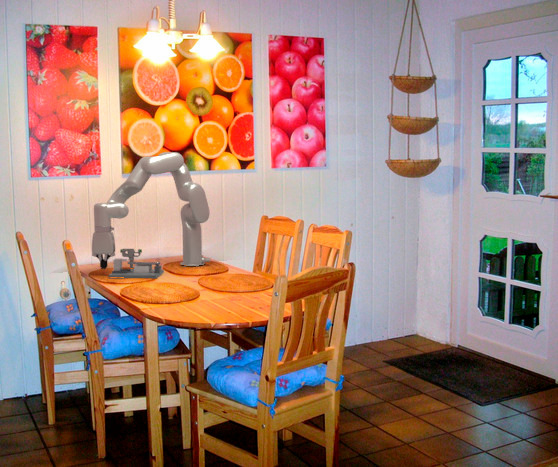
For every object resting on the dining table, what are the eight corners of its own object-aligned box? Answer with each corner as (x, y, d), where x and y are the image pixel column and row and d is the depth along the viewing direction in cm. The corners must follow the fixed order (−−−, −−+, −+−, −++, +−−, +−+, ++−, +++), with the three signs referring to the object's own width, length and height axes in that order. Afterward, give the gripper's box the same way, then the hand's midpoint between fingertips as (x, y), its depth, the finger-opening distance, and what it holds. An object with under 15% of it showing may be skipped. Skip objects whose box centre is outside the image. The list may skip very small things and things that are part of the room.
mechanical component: (141, 269, 338) (140, 249, 337) (120, 269, 338) (119, 249, 337) (142, 268, 341) (142, 248, 340) (122, 268, 341) (121, 248, 340)
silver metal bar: (160, 264, 323) (160, 261, 323) (158, 266, 320) (158, 262, 320) (129, 263, 324) (129, 260, 323) (127, 265, 321) (127, 261, 320)
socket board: (164, 272, 330) (164, 263, 329) (156, 278, 314) (156, 268, 314) (118, 272, 331) (118, 262, 330) (108, 278, 315) (108, 268, 315)
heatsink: (152, 271, 326) (152, 263, 325) (148, 273, 319) (148, 266, 318) (137, 270, 326) (137, 263, 325) (133, 273, 319) (133, 266, 318)
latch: (127, 270, 325) (127, 258, 324) (125, 272, 321) (124, 259, 320) (116, 270, 325) (115, 258, 324) (113, 272, 321) (113, 259, 320)
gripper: (120, 229, 324) (121, 267, 326) (89, 228, 325) (90, 267, 327) (116, 230, 317) (117, 270, 319) (84, 230, 317) (85, 270, 319)
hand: (103, 268), depth 323 cm, fingers closed
